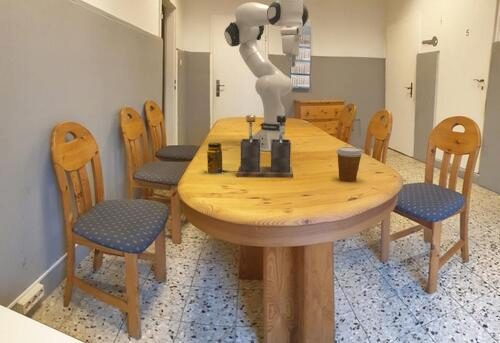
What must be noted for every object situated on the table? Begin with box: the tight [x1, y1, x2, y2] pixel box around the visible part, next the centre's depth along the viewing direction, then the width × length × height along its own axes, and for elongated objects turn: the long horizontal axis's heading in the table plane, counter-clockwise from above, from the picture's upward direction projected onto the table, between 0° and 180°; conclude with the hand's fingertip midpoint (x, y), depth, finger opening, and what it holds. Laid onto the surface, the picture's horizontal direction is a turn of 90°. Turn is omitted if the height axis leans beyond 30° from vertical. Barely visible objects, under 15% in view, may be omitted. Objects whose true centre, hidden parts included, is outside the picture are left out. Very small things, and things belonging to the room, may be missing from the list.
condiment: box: [206, 142, 229, 176], centre depth 153 cm, size 7×8×12 cm
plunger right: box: [277, 115, 287, 142], centre depth 147 cm, size 5×5×12 cm
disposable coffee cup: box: [336, 146, 363, 183], centre depth 142 cm, size 10×10×12 cm
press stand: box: [236, 138, 294, 179], centre depth 150 cm, size 22×12×14 cm, turn 87°
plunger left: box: [245, 114, 256, 142], centre depth 148 cm, size 5×5×12 cm
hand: (291, 66), depth 157 cm, fingers open, 8 cm apart
